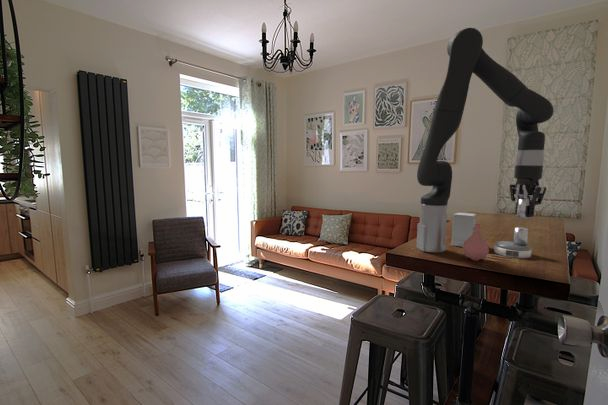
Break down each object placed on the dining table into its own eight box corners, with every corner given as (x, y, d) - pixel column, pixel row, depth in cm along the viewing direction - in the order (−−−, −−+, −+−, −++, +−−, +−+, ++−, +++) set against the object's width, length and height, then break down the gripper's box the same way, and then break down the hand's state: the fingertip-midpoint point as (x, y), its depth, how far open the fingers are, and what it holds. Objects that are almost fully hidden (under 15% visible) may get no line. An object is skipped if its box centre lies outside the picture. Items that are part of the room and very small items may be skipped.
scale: (507, 258, 108) (508, 248, 107) (487, 249, 119) (488, 241, 118) (539, 257, 108) (540, 248, 108) (516, 249, 119) (516, 241, 119)
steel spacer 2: (529, 246, 111) (531, 229, 110) (518, 246, 111) (520, 229, 110) (521, 243, 115) (522, 227, 114) (510, 243, 115) (512, 227, 114)
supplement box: (471, 248, 121) (473, 215, 119) (450, 245, 125) (452, 214, 124) (474, 244, 126) (476, 213, 125) (454, 241, 131) (456, 212, 129)
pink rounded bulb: (458, 256, 110) (460, 222, 108) (481, 256, 109) (483, 222, 108) (467, 262, 102) (470, 226, 101) (492, 263, 101) (495, 227, 100)
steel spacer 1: (534, 218, 103) (536, 200, 102) (522, 218, 103) (524, 200, 102) (525, 216, 107) (527, 198, 106) (513, 216, 107) (515, 198, 106)
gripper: (558, 164, 96) (552, 219, 98) (524, 164, 110) (519, 212, 112) (534, 164, 96) (528, 219, 98) (503, 164, 110) (499, 212, 112)
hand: (523, 215), depth 105 cm, fingers closed on steel spacer 1, 4 cm apart
